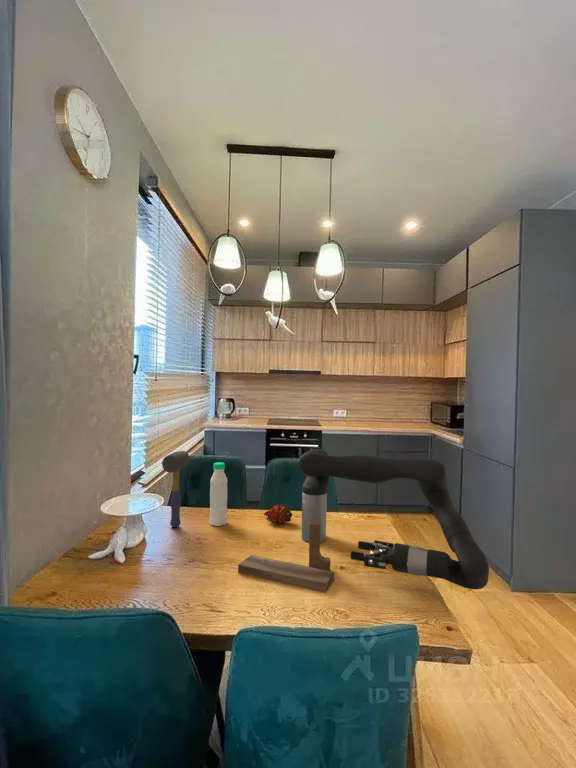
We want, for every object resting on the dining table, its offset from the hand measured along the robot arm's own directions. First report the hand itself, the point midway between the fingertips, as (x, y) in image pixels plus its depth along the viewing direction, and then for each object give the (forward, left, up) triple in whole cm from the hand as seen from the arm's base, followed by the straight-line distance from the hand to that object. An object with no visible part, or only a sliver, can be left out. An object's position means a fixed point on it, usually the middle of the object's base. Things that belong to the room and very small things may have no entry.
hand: (354, 549), depth 124 cm
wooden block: (0, -11, -9) cm, 14 cm away
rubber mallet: (-12, -76, -9) cm, 77 cm away
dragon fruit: (-34, -41, -9) cm, 54 cm away
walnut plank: (+8, -19, -8) cm, 22 cm away
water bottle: (-23, -63, -9) cm, 68 cm away
